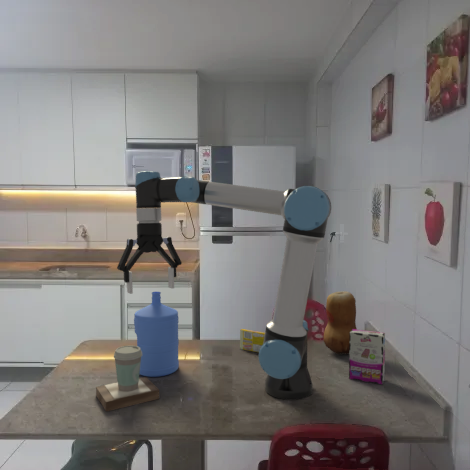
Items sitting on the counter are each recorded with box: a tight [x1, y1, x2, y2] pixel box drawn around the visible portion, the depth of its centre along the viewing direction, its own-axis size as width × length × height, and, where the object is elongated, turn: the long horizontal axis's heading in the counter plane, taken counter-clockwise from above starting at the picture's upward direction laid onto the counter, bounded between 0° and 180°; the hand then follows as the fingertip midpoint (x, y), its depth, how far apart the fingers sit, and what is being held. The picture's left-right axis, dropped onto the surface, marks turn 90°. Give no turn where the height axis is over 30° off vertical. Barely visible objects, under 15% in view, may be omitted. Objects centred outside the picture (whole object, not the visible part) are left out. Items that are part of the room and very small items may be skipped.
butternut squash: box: [323, 290, 358, 356], centre depth 171 cm, size 14×13×25 cm
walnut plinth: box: [95, 376, 160, 412], centre depth 132 cm, size 12×16×3 cm
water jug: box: [133, 291, 180, 378], centre depth 154 cm, size 16×16×28 cm
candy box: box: [239, 328, 265, 354], centre depth 174 cm, size 16×2×8 cm, turn 59°
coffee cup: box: [113, 345, 142, 391], centre depth 132 cm, size 9×8×12 cm
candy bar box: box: [348, 329, 386, 385], centre depth 146 cm, size 11×5×16 cm, turn 64°
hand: (151, 290), depth 134 cm, fingers open, 13 cm apart
